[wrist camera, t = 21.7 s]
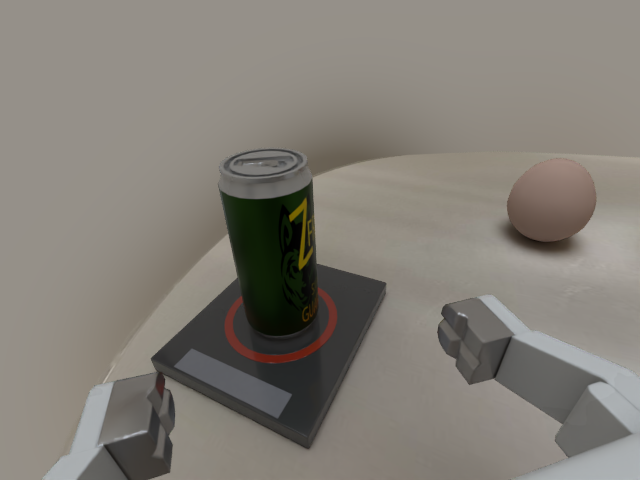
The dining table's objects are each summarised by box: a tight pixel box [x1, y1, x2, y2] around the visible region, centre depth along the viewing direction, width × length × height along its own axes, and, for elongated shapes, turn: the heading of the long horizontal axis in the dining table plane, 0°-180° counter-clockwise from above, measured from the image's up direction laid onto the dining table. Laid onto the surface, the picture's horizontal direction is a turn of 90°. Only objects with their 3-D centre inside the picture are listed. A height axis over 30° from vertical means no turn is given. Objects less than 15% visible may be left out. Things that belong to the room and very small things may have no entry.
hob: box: [151, 264, 386, 448], centre depth 26 cm, size 14×12×1 cm
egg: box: [507, 158, 596, 242], centre depth 33 cm, size 7×7×8 cm
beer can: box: [218, 148, 319, 340], centre depth 22 cm, size 5×5×12 cm
